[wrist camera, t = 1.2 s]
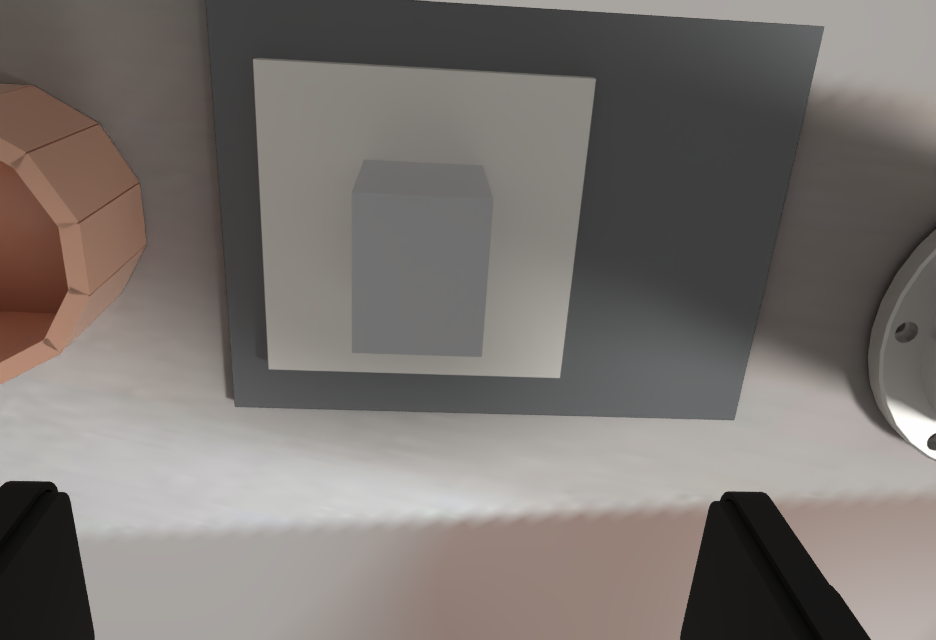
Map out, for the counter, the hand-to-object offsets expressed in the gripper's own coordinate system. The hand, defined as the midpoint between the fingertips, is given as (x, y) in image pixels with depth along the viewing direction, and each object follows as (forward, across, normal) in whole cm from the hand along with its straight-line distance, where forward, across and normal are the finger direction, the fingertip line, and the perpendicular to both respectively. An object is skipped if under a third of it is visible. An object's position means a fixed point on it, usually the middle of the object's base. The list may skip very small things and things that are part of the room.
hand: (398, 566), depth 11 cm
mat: (+18, -3, 0) cm, 18 cm away
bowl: (+18, +14, 0) cm, 22 cm away
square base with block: (+17, 0, 0) cm, 17 cm away
